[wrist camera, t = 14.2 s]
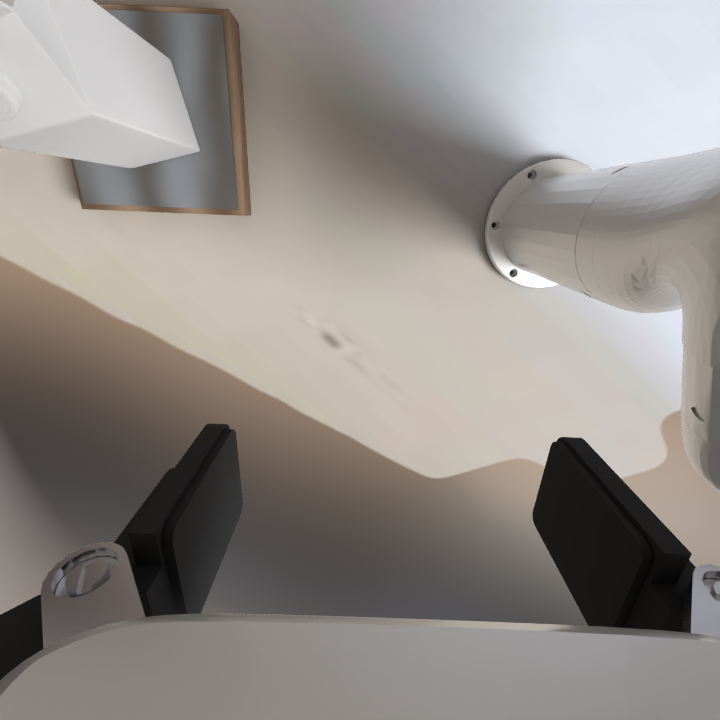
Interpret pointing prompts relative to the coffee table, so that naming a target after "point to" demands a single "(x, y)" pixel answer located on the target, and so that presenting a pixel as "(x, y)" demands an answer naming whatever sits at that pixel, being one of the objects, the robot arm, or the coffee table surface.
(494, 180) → the coffee table surface
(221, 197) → the framed mirror
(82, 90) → the milk carton
